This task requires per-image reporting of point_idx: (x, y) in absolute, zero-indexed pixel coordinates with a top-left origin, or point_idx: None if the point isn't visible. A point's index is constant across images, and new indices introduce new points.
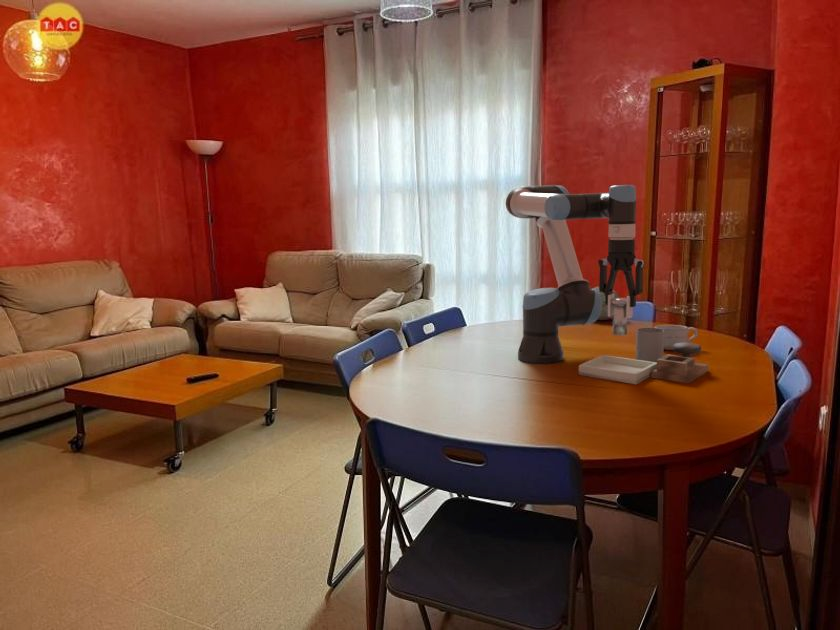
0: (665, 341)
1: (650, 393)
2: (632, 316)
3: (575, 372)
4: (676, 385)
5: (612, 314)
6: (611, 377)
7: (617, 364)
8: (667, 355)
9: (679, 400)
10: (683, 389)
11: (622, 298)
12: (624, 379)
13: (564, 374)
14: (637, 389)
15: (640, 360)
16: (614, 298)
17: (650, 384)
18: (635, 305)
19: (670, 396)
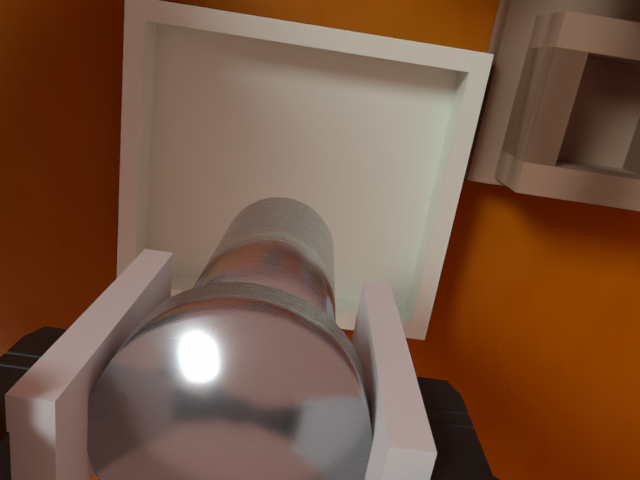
0: None
1: (493, 404)
2: (390, 292)
3: (100, 244)
4: (585, 255)
5: (166, 297)
6: None
7: (248, 52)
8: (568, 50)
9: (604, 439)
10: (616, 301)
11: (231, 364)
12: None
13: (74, 298)
14: (435, 377)
15: (383, 44)
16: (110, 399)
17: (474, 288)
18: (455, 396)
19: (570, 408)
